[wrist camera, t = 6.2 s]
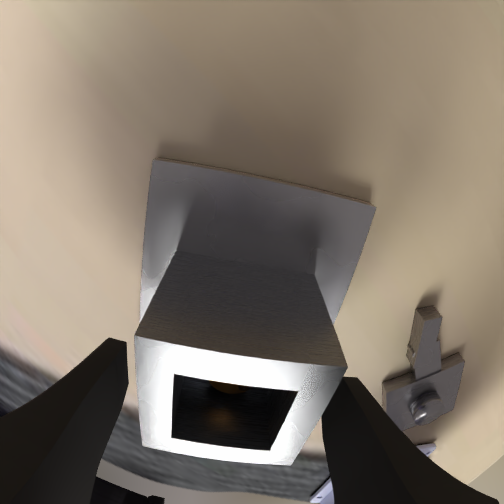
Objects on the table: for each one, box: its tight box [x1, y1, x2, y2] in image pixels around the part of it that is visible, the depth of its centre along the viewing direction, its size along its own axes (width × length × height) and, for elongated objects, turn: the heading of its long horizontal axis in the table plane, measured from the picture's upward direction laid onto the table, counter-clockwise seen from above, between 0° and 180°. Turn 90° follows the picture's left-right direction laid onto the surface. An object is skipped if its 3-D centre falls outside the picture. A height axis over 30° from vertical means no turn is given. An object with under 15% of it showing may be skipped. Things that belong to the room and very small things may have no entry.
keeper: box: [140, 158, 376, 394], centre depth 12 cm, size 12×8×4 cm, turn 168°
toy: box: [90, 477, 165, 504], centre depth 20 cm, size 19×7×30 cm
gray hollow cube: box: [134, 250, 348, 465], centre depth 10 cm, size 5×5×5 cm
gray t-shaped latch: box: [382, 306, 465, 431], centre depth 14 cm, size 10×5×2 cm, turn 17°
